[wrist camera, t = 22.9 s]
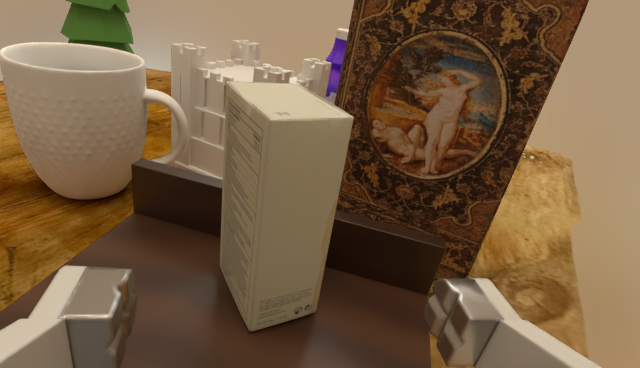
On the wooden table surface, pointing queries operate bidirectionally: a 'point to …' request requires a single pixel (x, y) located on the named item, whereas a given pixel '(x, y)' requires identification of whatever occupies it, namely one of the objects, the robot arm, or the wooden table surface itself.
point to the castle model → (223, 96)
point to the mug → (82, 114)
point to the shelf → (219, 305)
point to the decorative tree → (99, 24)
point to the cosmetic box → (279, 197)
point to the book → (445, 109)
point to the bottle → (336, 64)
